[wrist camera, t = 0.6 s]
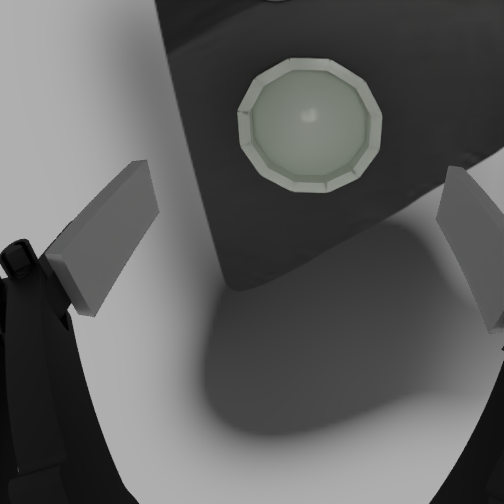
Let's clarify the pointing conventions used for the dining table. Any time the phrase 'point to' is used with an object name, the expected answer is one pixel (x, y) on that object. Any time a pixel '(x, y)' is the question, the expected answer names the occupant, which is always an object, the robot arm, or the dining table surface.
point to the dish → (309, 125)
